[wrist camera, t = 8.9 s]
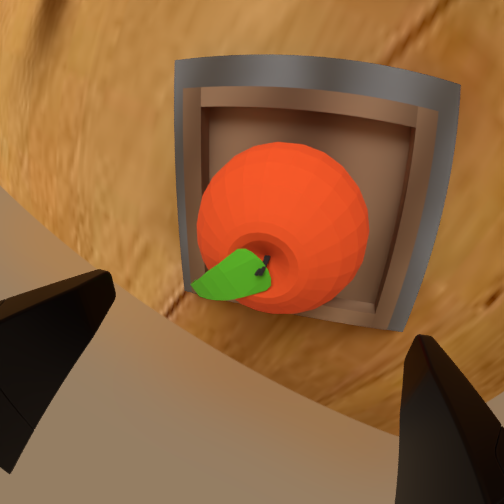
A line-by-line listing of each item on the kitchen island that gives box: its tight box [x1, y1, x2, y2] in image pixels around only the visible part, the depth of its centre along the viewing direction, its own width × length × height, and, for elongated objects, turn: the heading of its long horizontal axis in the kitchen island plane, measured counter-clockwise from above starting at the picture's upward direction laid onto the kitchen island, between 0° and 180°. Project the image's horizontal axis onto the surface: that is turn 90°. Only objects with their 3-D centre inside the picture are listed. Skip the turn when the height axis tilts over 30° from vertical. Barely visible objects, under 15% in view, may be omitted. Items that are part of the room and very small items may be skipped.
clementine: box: [190, 142, 369, 314], centre depth 12 cm, size 8×7×7 cm
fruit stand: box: [174, 55, 461, 332], centre depth 16 cm, size 16×16×4 cm
